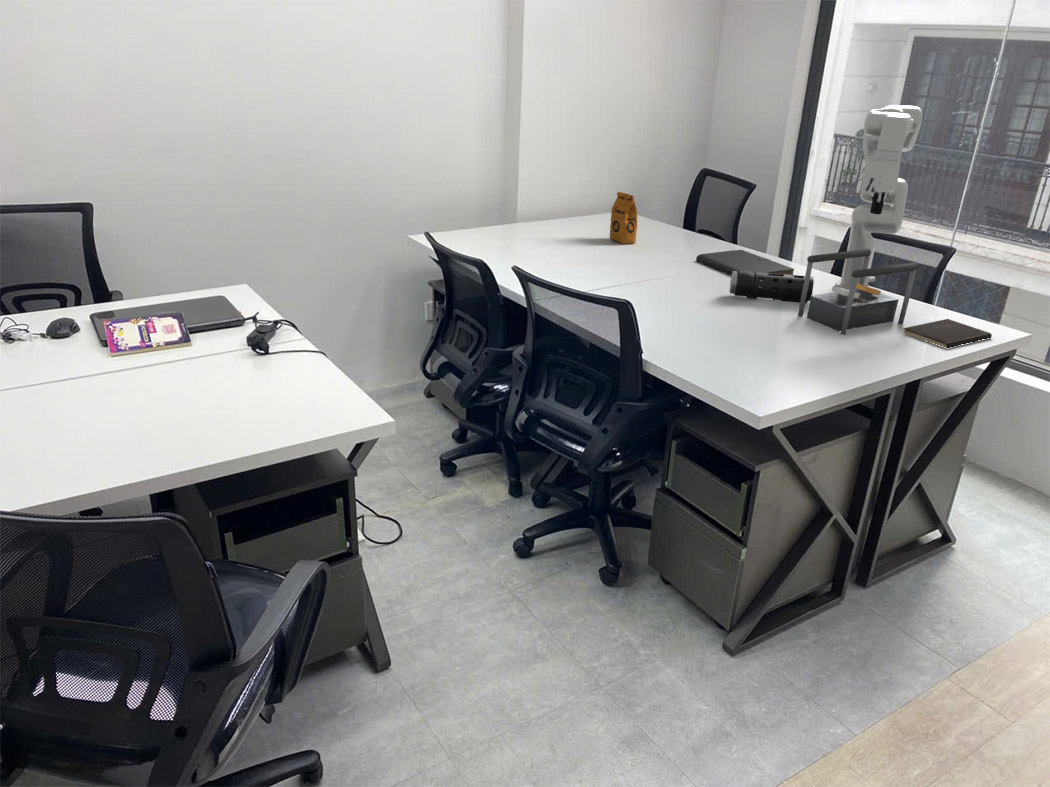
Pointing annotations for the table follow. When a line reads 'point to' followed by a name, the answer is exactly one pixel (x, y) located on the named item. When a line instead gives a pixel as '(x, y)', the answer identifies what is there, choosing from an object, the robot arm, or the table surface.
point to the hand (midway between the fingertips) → (875, 213)
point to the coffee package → (624, 219)
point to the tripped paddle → (868, 289)
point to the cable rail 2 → (880, 271)
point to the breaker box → (852, 309)
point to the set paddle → (844, 291)
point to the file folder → (742, 262)
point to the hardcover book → (947, 333)
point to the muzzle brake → (769, 286)
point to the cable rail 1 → (830, 257)
